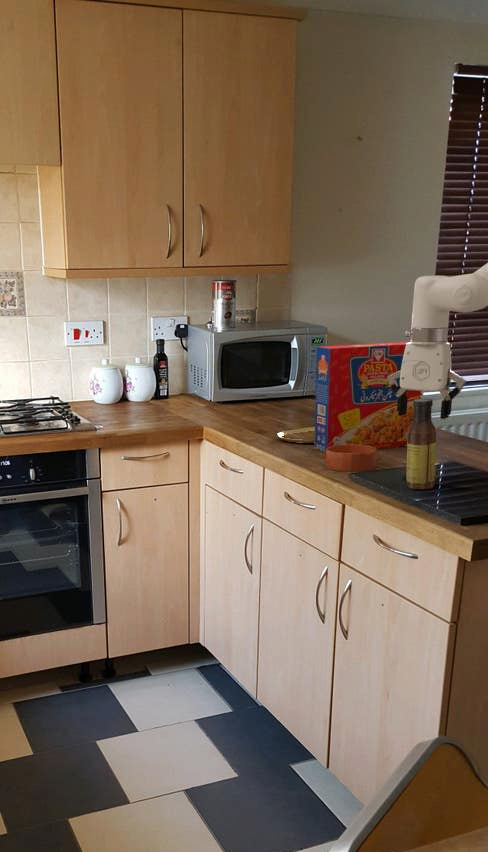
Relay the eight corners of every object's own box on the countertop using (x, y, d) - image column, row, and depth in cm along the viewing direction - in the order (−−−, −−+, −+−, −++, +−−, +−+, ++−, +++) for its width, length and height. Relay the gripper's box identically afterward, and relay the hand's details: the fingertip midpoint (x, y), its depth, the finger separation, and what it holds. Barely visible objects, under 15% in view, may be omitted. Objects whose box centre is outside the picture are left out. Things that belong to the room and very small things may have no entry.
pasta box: (326, 453, 240) (330, 348, 231) (314, 448, 247) (316, 346, 238) (417, 445, 247) (424, 343, 238) (402, 441, 254) (408, 341, 245)
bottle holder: (384, 464, 224) (384, 446, 222) (362, 473, 214) (363, 455, 213) (339, 459, 231) (339, 442, 230) (316, 468, 222) (316, 450, 220)
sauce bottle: (426, 483, 202) (432, 396, 195) (439, 489, 196) (445, 400, 189) (400, 485, 201) (404, 398, 194) (411, 491, 195) (417, 401, 188)
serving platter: (394, 433, 265) (395, 428, 265) (304, 447, 249) (304, 442, 248) (352, 426, 281) (352, 421, 280) (264, 438, 264) (264, 433, 264)
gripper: (383, 336, 190) (379, 415, 195) (462, 338, 180) (455, 422, 185) (398, 334, 195) (393, 411, 201) (475, 336, 185) (467, 417, 191)
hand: (423, 416), depth 193 cm, fingers open, 9 cm apart
